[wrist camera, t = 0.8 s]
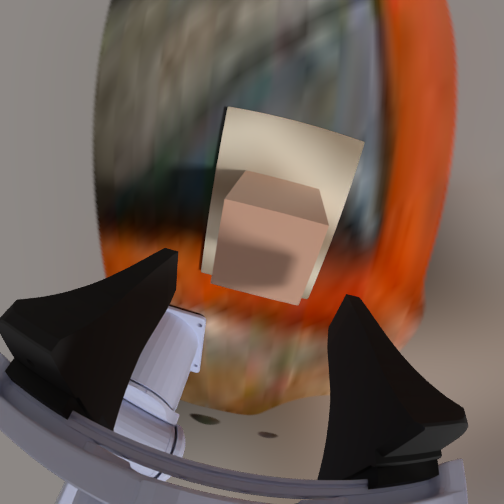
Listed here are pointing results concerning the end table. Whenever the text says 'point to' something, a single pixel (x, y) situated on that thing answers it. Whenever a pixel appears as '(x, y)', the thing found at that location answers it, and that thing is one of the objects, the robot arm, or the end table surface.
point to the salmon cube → (269, 237)
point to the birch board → (282, 168)
